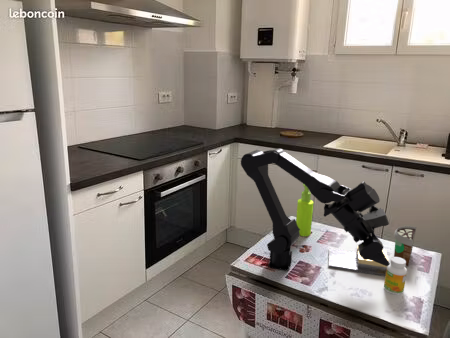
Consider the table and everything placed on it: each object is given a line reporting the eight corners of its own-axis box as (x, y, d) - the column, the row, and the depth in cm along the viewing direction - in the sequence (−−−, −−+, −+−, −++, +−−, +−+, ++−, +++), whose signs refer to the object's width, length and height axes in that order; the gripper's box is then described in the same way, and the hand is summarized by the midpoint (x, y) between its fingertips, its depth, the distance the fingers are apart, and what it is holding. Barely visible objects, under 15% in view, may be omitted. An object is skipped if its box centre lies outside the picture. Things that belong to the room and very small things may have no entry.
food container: (393, 247, 136) (397, 222, 133) (411, 252, 133) (416, 226, 130) (387, 263, 126) (391, 235, 123) (407, 268, 123) (412, 240, 120)
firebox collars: (328, 267, 122) (329, 256, 121) (329, 249, 133) (330, 240, 132) (391, 277, 118) (393, 266, 116) (386, 258, 129) (388, 248, 128)
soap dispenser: (314, 236, 143) (319, 186, 137) (296, 236, 143) (300, 186, 138) (311, 229, 149) (316, 181, 143) (294, 229, 149) (297, 181, 143)
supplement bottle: (380, 289, 111) (385, 259, 109) (388, 282, 115) (392, 253, 112) (399, 297, 108) (404, 267, 105) (406, 289, 111) (411, 260, 109)
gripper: (379, 214, 96) (418, 257, 97) (367, 189, 114) (400, 226, 115) (343, 239, 100) (382, 280, 101) (337, 211, 117) (370, 247, 119)
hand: (384, 256), depth 109 cm, fingers open, 9 cm apart
